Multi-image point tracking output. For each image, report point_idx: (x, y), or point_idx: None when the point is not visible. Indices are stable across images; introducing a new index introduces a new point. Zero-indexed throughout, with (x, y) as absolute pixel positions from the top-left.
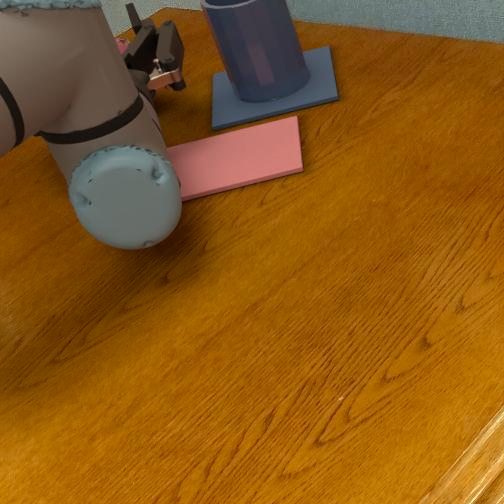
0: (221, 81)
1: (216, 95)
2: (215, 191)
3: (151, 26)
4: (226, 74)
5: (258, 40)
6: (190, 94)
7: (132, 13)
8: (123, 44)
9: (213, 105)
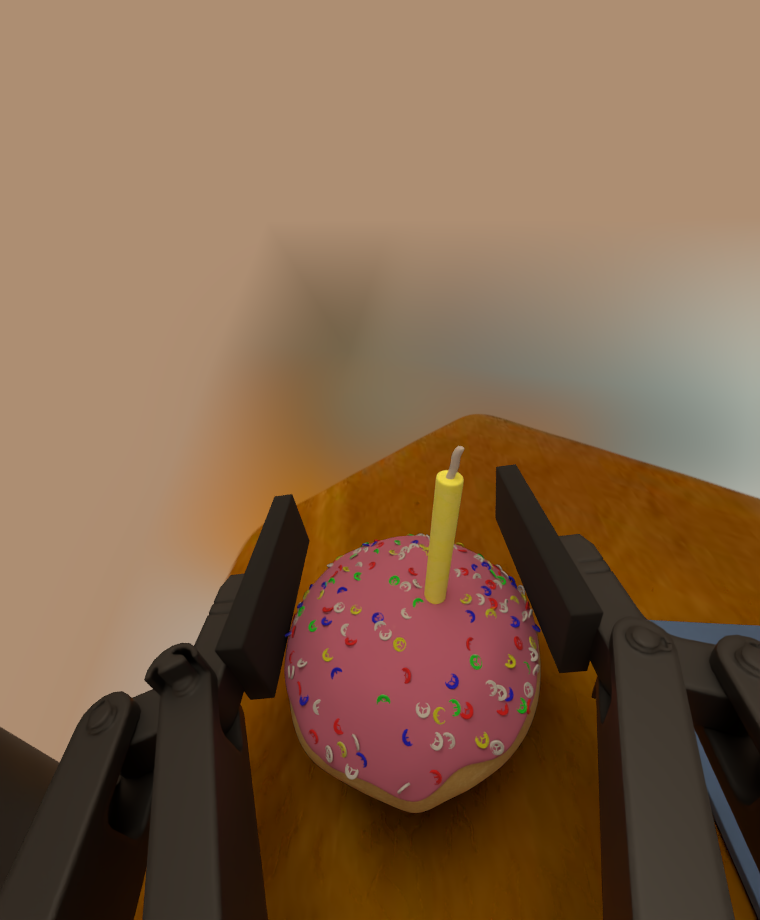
0: None
1: (714, 774)
2: None
3: (671, 652)
4: None
5: None
6: (584, 676)
7: (534, 515)
8: (496, 614)
9: (748, 871)
